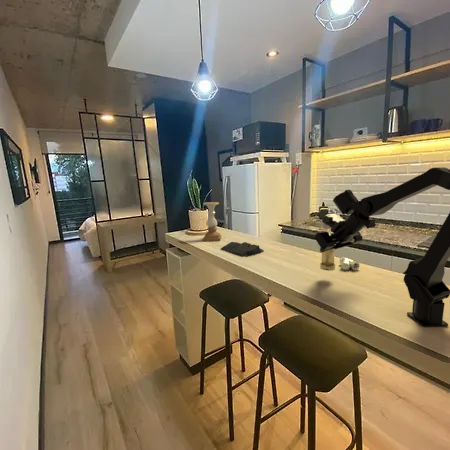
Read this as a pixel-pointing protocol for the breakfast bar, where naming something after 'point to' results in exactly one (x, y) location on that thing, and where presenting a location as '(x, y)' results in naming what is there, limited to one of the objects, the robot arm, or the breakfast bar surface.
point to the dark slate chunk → (242, 249)
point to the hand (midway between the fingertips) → (325, 250)
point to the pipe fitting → (348, 264)
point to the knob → (328, 259)
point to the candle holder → (211, 223)
